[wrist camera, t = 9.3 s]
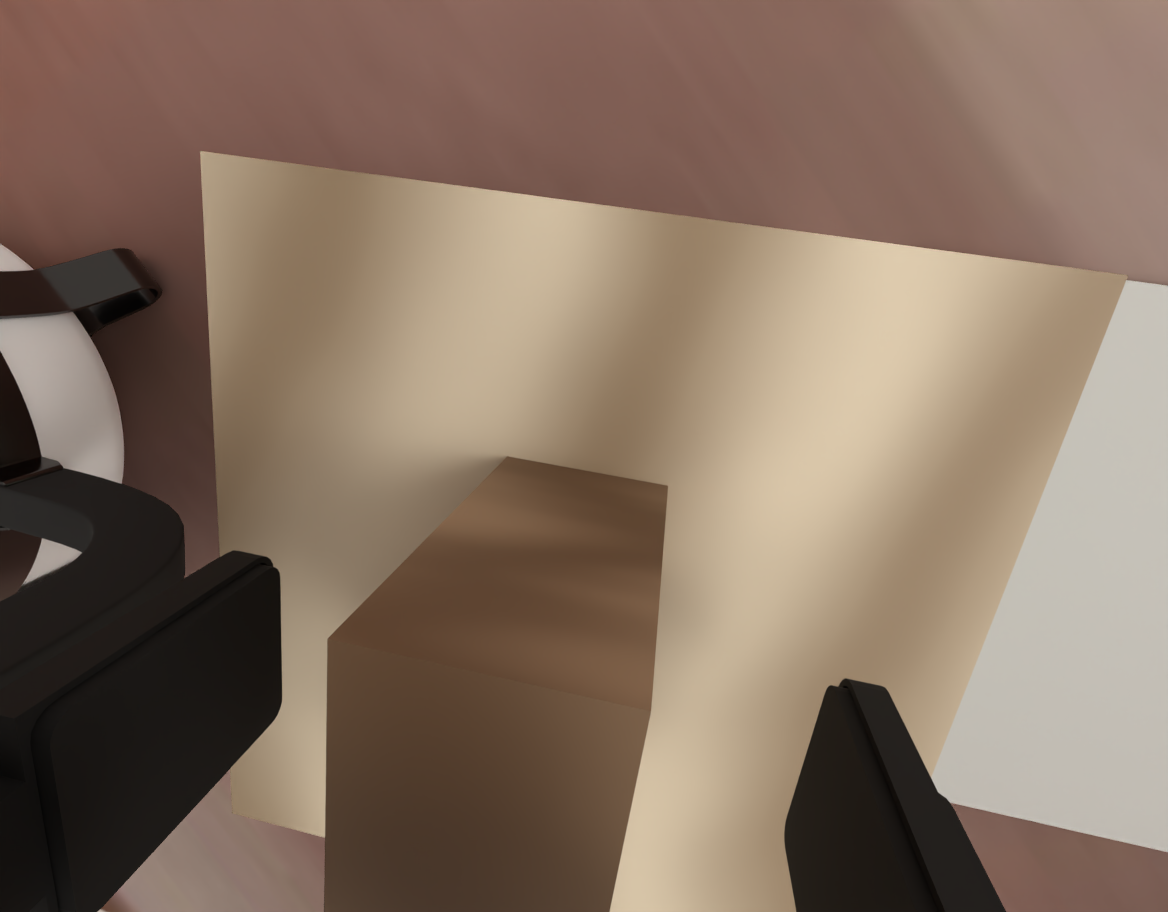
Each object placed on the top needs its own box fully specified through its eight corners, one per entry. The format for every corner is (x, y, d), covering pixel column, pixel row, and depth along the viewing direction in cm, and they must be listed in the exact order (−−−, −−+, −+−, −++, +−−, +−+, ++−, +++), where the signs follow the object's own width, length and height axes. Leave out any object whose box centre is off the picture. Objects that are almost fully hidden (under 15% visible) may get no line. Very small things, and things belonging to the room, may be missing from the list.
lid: (1085, 275, 10) (1909, 270, 3) (841, 930, 14) (977, 1489, 8) (239, 161, 12) (-363, 4, 5) (258, 781, 16) (-43, 1138, 9)
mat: (1653, 352, 14) (1681, 354, 13) (1306, 874, 19) (1319, 886, 18) (919, 253, 15) (925, 253, 15) (775, 753, 20) (776, 762, 20)
